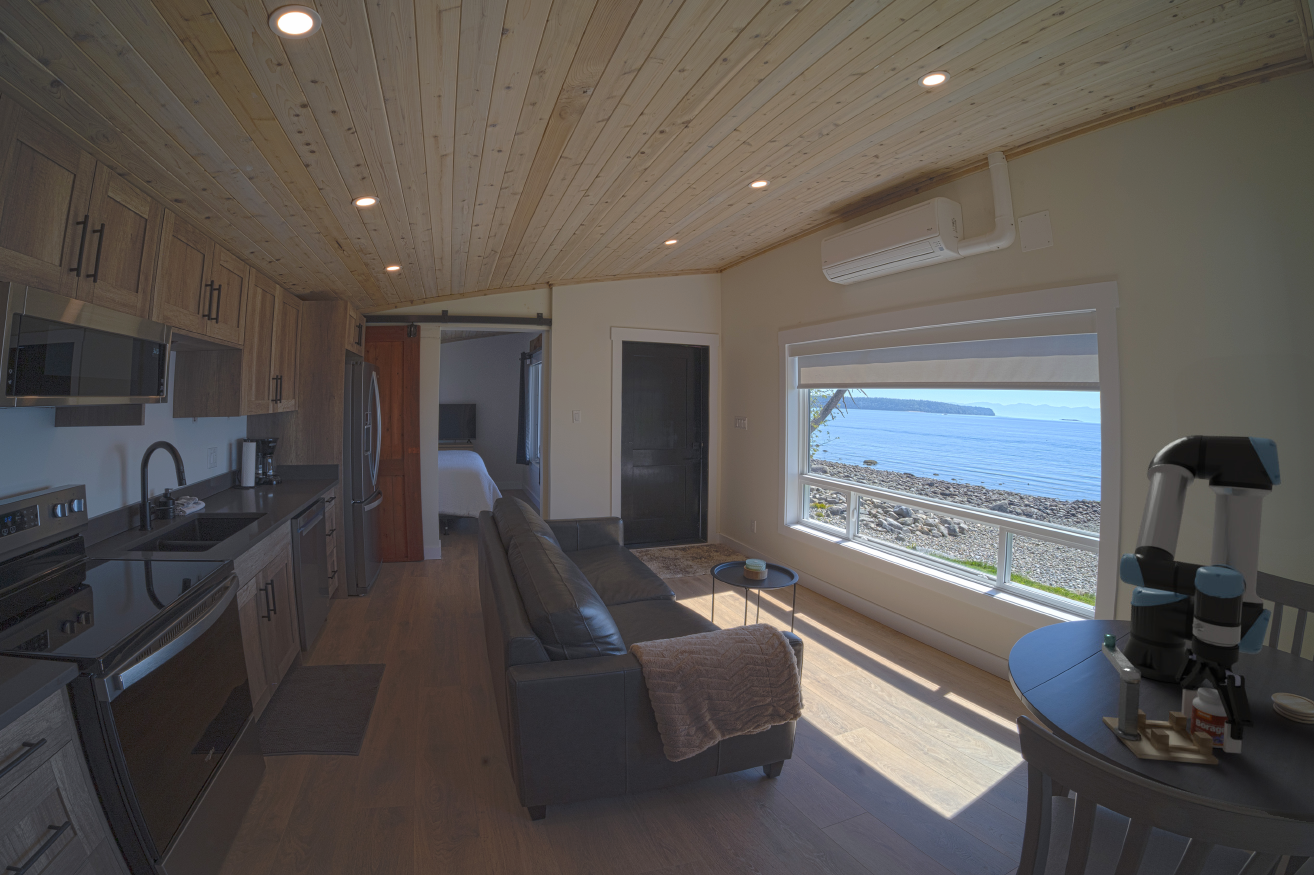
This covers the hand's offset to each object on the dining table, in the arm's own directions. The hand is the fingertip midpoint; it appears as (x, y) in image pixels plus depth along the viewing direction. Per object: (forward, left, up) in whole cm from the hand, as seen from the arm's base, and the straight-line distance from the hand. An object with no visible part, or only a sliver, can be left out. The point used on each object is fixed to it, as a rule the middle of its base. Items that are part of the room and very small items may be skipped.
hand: (1209, 733), depth 131 cm
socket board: (+11, +2, -2) cm, 11 cm away
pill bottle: (0, 0, -2) cm, 2 cm away
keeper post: (+17, +2, -2) cm, 17 cm away
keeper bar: (+16, -4, +12) cm, 21 cm away
